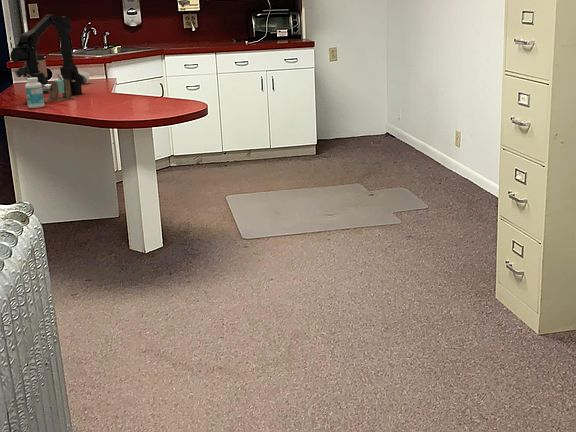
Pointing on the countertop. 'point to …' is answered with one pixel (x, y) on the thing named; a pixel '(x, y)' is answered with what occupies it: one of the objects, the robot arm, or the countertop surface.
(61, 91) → the collar
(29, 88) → the pill bottle
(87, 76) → the sculpture
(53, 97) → the bearing stand
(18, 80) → the countertop surface
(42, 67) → the travel mug
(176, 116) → the countertop surface
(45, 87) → the shaft
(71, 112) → the countertop surface
